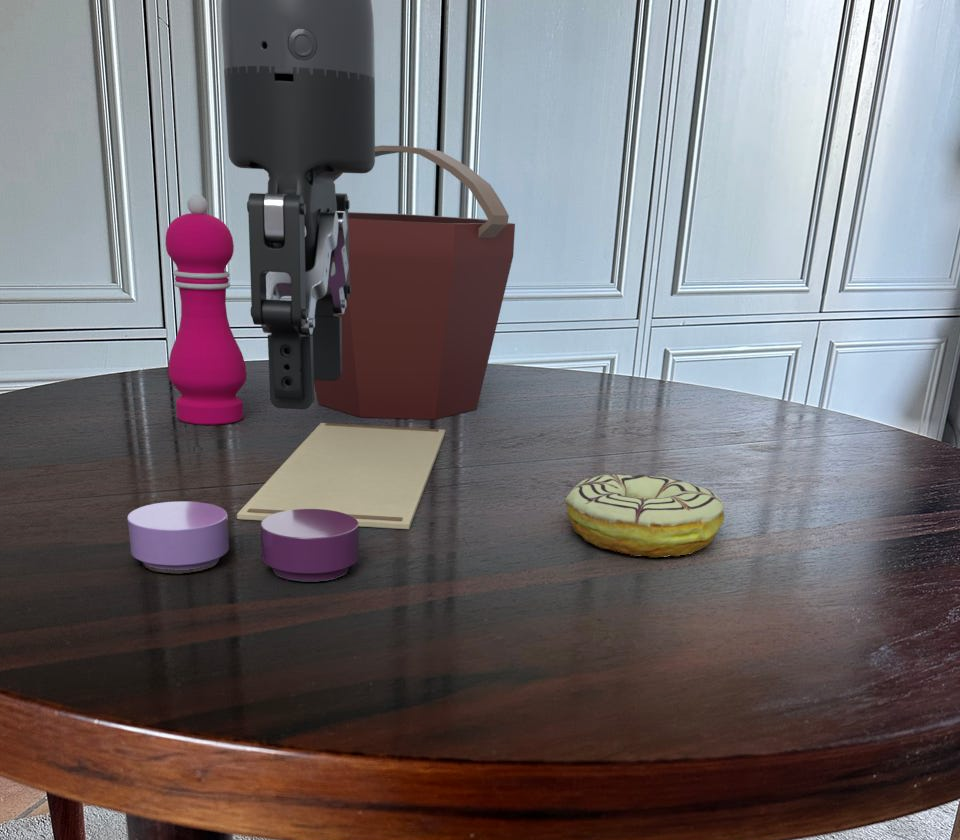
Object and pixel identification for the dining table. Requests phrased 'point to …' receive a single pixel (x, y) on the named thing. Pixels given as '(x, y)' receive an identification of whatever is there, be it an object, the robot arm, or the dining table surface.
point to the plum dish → (310, 543)
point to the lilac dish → (178, 534)
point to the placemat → (353, 474)
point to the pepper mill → (204, 320)
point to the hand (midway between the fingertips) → (309, 392)
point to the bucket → (421, 306)
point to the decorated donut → (644, 514)
